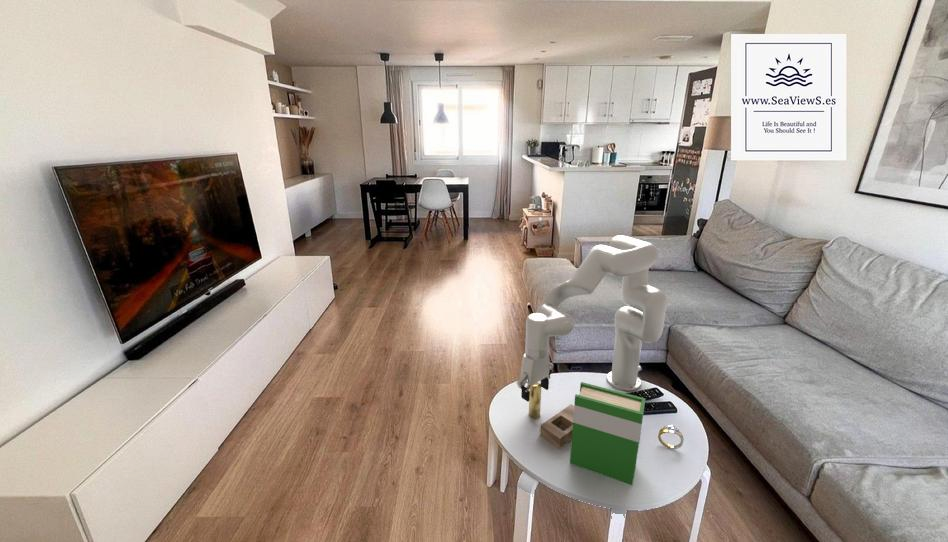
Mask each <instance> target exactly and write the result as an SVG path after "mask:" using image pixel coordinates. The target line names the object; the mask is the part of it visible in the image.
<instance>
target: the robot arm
mask: <svg viewBox="0 0 948 542" xmlns="http://www.w3.org/2000/svg"><path fill="white" fill-rule="evenodd" d="M658 256H659V252H658V249H657V247H656V246H655V244H653V243H651V242H648V241H644V240H641V239H638V238H634V237H631V236H627V235H623V234H621V235H619V234H618V235H615V236H613V237H612V238H611V240H610V242H609V245H605V244H598V245H597V244H596V245H594V246H593V247H592V248H591V250H590V251H589V252H588V254H587V255H586V256H585V258H584V259H583V260H582V262H581V263H580V265H579V267H578V268H577V269H576V270H575V272H574V273H573V275H572V276H571V277H570V278H569V279H567V280H566V281H564V282H561V283H560V284H558V285H557V286H555V287H553V288H552V289H550V290H549V291H548V292H547V294H545V296H544V297H543V299H542V300H541V302H540V303H539V305H538V307H537V309H536V312H533V313H530V314H528V315H527V316H526V319H525V347H524V348H525V350H524V352H525V353H524V354H523V356H522V361H521V365H520V366H521V367H520V377H519V379H517V381H516V384H517V387H518V388H519V389H521V392H520V393H521V399H522V400H525V402H528V403H529V400H530V391H529V389H530V387H531V385H533V384H535V383H539V382H540V384H541V388H543V389H544V390H546V391H548V390H549V388H550V387H549V385H550V379H551V374H552V373H553V368H554V366H555V365H554V364H553V363H552V362H550V360H551V359H550V354H549V352H550V351H549V344H550V337H561V336H562V337H563V336H566V335H569V334H570V333H571V332H572V331H573V330H574V328H575V321H574V318H573V317H572V316H571V315H569V314H568V313H566V312H564V311H563V310H561V309H559V306H560V305H561V304H562V303H563V302H564V301H565V300H567V299H569V298H573V297H576V296H586V295H587V296H588V295H589V296H590V295H592V294H593V293H594V292H595V290H596V289H597V288H598V286H599V285H600V284H601V282H602V280H603V279H604V277H605V276H606V274H608V275H610V276H613V277H616V278H617V277H618V278H622V283H621V293H620V294H621V295H620V298H621V300H622V302H623V303H624V304H625V305H624V306H621V307H620V308H618V310H616V312H615V314H614V329H615V330H614V331H615V337H614V347H613V357H612V365H611V371H610V372H608V373H607V375H606V381H607V383H608V384H609V385H610V386H611V387H613V388H615V389H618V390H621V391H624V392H625V391H627V392H629V391H631V392H632V391H636V390H638V389H639V388H640V387H641V383H642V382H641V378H640V377H639V376H638V375H639V372H640V371H642V369H643V368H642V367H641V365H640V358H641V350H642V342H644V343H646V344H654V343H656V342H657V341H659V340H660V338H661V336H662V334H663V332H664V331H663V330H664V325H665V319H666V311H667V304H668V302H667V297H666V294H665V293H664V292H663V291H662V290H661V289H659V288H658V287H654V286H652V285H650V283H649V271H650V270H649V269H650V268H651V267H652V266H653V265H654V264H655V263H656V262H657V260H658V258H659V257H658Z"/></svg>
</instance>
